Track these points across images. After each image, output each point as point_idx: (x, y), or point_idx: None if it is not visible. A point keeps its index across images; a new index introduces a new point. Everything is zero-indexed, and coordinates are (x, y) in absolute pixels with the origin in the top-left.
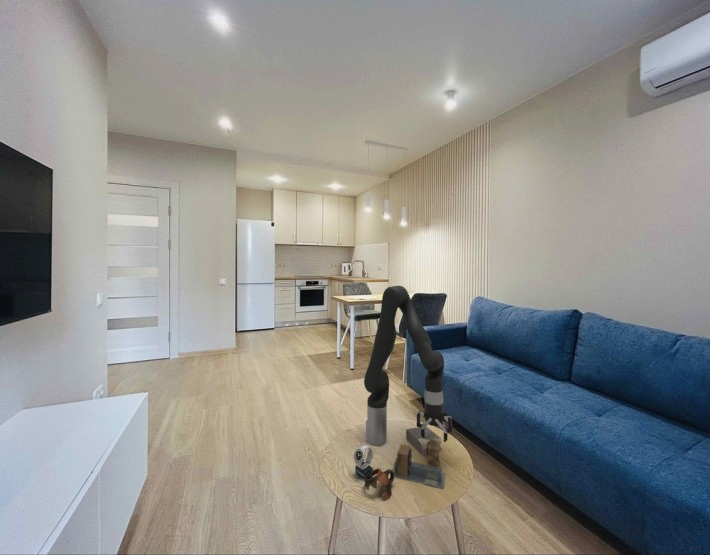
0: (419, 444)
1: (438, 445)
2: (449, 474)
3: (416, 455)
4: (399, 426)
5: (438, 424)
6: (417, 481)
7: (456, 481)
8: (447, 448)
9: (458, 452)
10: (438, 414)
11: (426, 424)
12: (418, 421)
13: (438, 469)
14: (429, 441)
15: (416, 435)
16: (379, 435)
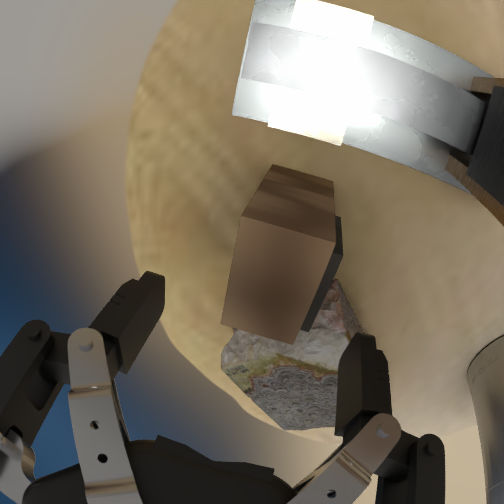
0: (351, 337)
1: (230, 276)
2: (209, 126)
3: (376, 280)
4: None
5: (122, 458)
6: (418, 37)
7: (178, 75)
8: (205, 326)
9: None
10: None
11: (331, 482)
12: (427, 501)
13: (270, 56)
14: (300, 325)
15: None
16: None
